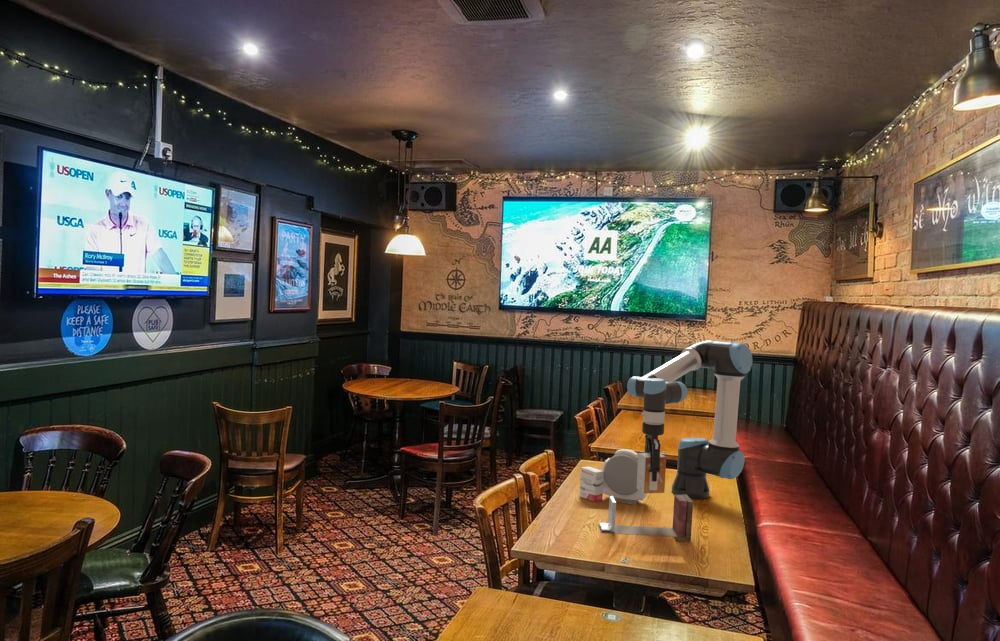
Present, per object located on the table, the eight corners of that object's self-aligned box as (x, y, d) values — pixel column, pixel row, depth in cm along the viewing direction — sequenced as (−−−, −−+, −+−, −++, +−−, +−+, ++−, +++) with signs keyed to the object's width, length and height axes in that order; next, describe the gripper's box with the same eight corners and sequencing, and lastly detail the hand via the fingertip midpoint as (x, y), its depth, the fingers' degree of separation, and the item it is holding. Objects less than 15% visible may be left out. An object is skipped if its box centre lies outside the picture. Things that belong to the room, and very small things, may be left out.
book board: (684, 532, 225) (686, 494, 224) (690, 541, 217) (693, 502, 216) (597, 528, 225) (599, 490, 225) (600, 537, 217) (602, 497, 217)
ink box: (603, 500, 257) (604, 470, 256) (594, 502, 254) (595, 472, 253) (587, 494, 263) (588, 465, 263) (578, 496, 260) (580, 467, 260)
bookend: (611, 524, 225) (613, 496, 224) (614, 532, 218) (616, 502, 217) (599, 523, 225) (600, 495, 224) (602, 531, 218) (603, 502, 217)
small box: (643, 494, 227) (645, 457, 226) (636, 488, 233) (637, 452, 232) (665, 493, 229) (666, 456, 228) (656, 487, 235) (658, 451, 234)
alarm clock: (648, 501, 257) (651, 451, 256) (644, 507, 249) (647, 456, 248) (604, 493, 265) (607, 444, 264) (598, 499, 257) (601, 449, 256)
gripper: (637, 416, 239) (634, 477, 241) (648, 428, 219) (645, 495, 221) (657, 416, 239) (655, 477, 241) (670, 429, 219) (668, 495, 221)
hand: (650, 486), depth 231 cm, fingers closed on small box, 7 cm apart
